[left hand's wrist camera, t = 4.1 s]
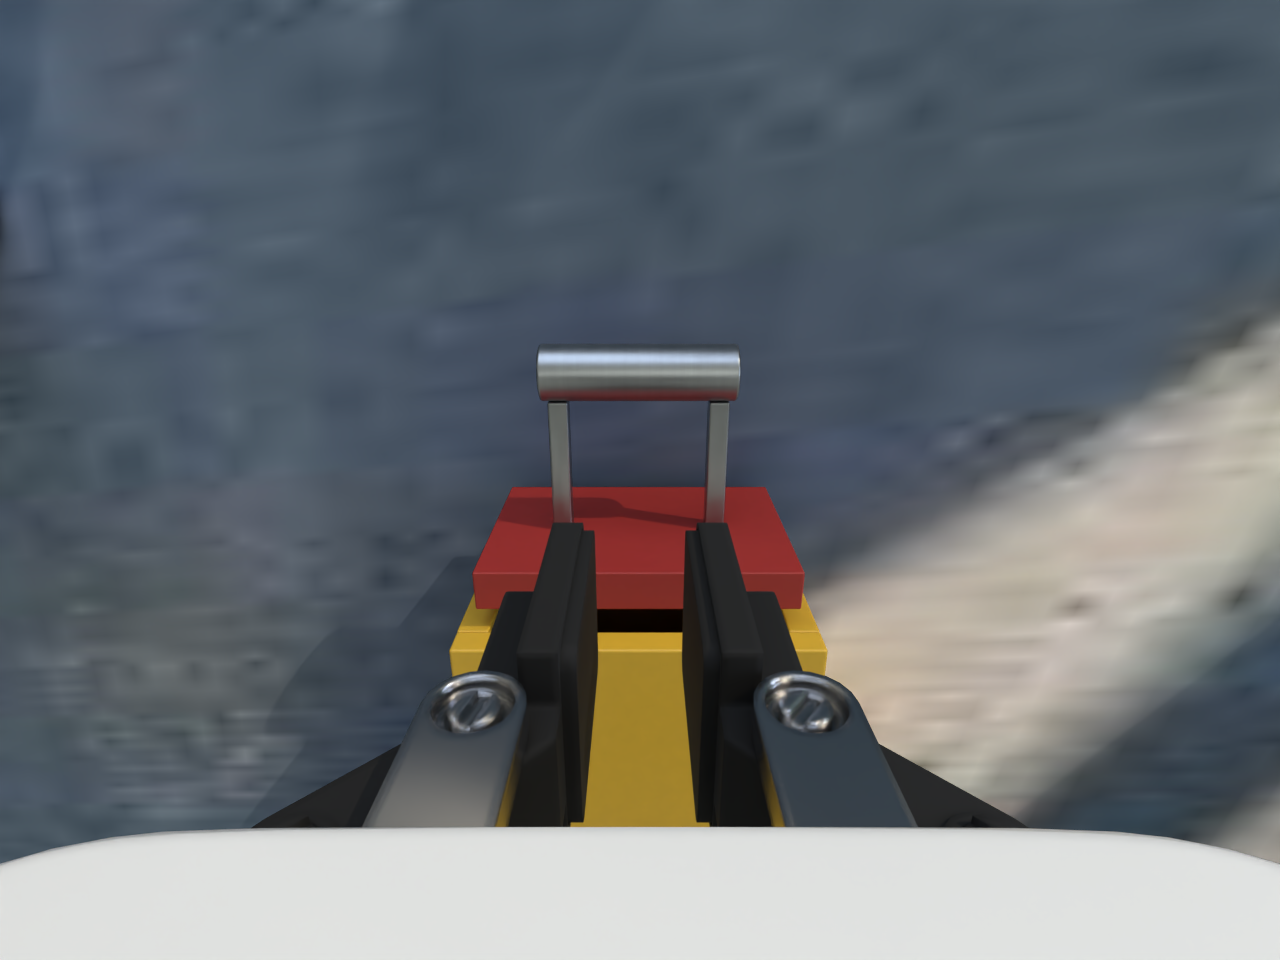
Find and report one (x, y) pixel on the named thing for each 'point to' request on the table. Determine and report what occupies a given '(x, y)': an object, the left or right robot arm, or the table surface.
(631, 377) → the drawer
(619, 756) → the yellow drawer casing
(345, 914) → the left robot arm
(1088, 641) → the table surface
